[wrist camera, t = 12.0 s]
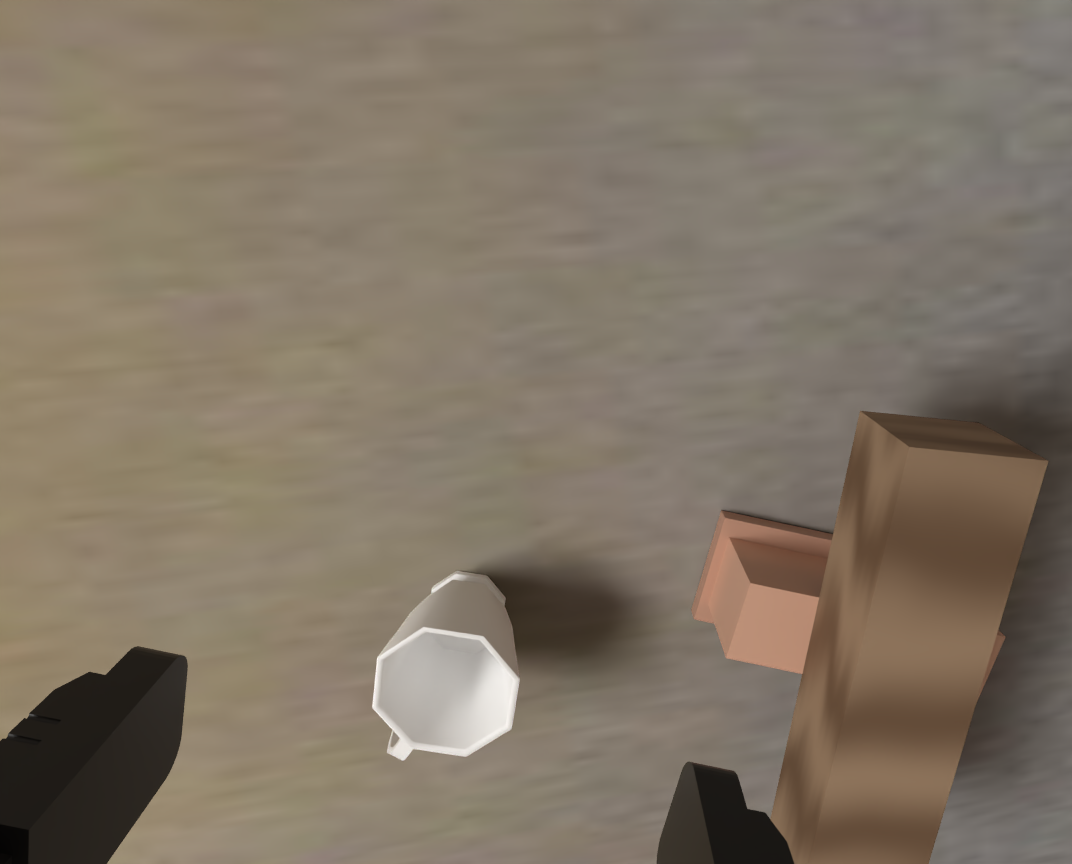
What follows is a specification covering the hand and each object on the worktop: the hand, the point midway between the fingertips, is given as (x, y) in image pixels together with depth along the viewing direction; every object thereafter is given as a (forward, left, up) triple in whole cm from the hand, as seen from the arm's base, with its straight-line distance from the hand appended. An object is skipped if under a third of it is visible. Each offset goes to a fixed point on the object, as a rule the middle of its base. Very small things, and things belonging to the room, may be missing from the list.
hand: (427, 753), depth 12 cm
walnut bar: (+8, +18, -22) cm, 30 cm away
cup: (+15, -1, -28) cm, 32 cm away
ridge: (+8, +18, -28) cm, 34 cm away
